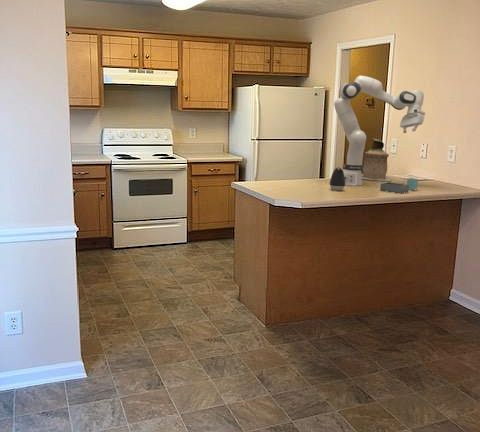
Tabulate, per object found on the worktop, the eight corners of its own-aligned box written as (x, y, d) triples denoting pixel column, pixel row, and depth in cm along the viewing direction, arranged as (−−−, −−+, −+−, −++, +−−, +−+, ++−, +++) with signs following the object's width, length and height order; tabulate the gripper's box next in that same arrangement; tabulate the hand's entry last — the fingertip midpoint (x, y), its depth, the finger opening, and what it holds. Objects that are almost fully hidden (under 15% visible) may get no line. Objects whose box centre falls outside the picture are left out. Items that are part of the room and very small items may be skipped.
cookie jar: (391, 182, 396) (395, 139, 390) (358, 180, 401) (362, 138, 394) (388, 178, 420) (392, 138, 414) (357, 176, 425) (361, 136, 418)
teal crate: (413, 191, 355) (414, 179, 354) (406, 190, 359) (407, 178, 357) (416, 190, 359) (418, 178, 358) (410, 189, 363) (411, 178, 361)
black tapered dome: (332, 191, 339) (334, 168, 336) (326, 188, 349) (328, 166, 346) (347, 191, 341) (349, 168, 338) (341, 189, 351) (343, 166, 348)
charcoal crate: (399, 193, 341) (400, 186, 340) (380, 190, 351) (380, 183, 350) (408, 192, 349) (409, 185, 348) (388, 189, 359) (389, 182, 358)
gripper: (400, 114, 372) (395, 132, 371) (420, 109, 353) (415, 128, 352) (407, 117, 374) (402, 135, 373) (427, 112, 355) (422, 131, 354)
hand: (409, 132), depth 362 cm, fingers open, 8 cm apart
